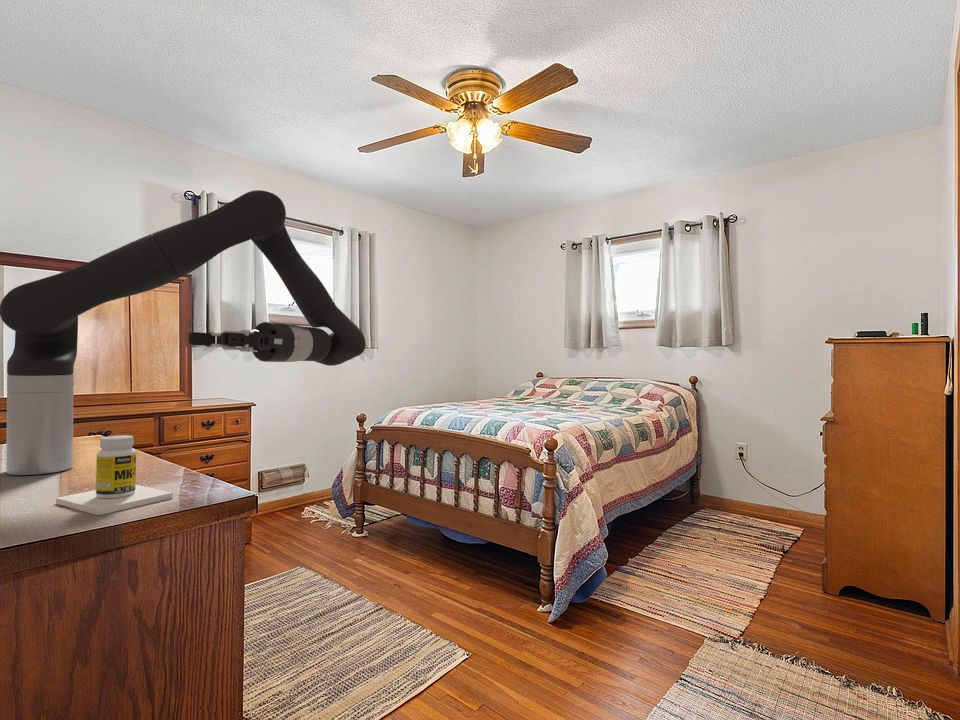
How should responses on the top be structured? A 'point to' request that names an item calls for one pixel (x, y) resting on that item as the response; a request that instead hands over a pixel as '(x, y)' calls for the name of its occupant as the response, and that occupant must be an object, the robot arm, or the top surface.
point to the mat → (113, 500)
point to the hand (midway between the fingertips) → (205, 338)
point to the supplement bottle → (116, 467)
